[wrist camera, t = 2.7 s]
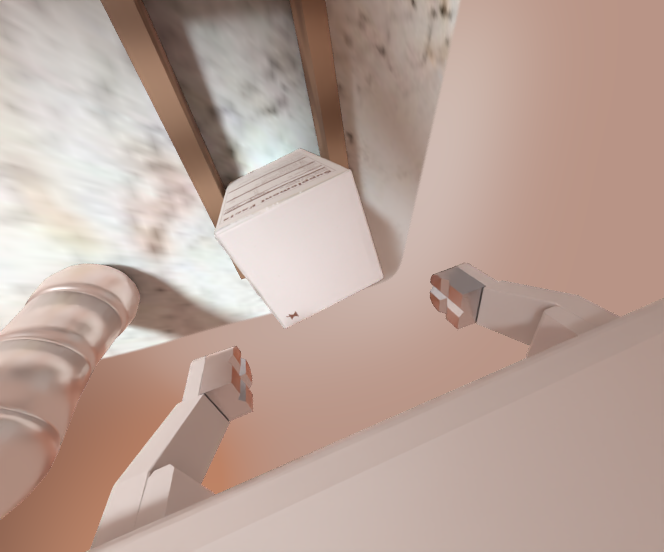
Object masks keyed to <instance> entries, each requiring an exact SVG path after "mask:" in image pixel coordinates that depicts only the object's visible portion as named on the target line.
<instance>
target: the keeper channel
mask: <svg viewBox="0 0 664 552" xmlns="http://www.w3.org/2000/svg"><path fill="white" fill-rule="evenodd" d="M101 2H102V4H103V6H104V8H105V10H106V12H107V14H108V16H109V18H110V20H111V22H112V24H113V26H114V28H115V30H116V32H117V34H118V36H119V38H120V40H121V42H122V44H123V46H124V48H125V50H126V52H127V54H128V56H129V58H130V60H131V62H132V64H133V66H134V68H135V70H136V72H137V74H138V75H139V77H140V79H141V81H142V83H143V85H144V87H145V89H146V91H147V93H148V95H149V97H150V99H151V101H152V103H153V105H154V107H155V109H156V111H157V113H158V115H159V117H160V119H161V121H162V123H163V125H164V127H165V129H166V131H167V133H168V135H169V137H170V139H171V141H172V143H173V145H174V147H175V149H176V151H177V153H178V155H179V157H180V159H181V161H182V163H183V165H184V167H185V169H186V171H187V173H188V175H189V177H190V178H191V180H192V182H193V184H194V186H195V188H196V190H197V192H198V194H199V196H200V198H201V200H202V202H203V204H204V206H205V208H206V210H207V212H208V214H209V216H210V218H211V220H212V222H213V224H214V226H215V228H216V226H217V222H218V218H219V215H220V211H221V207H222V204H223V200H224V196H225V192H226V191H225V189H224V186H223V184H222V182H221V179H220V177H219V175H218V173H217V170H216V168H215V166H214V163H213V161H212V159H211V157H210V154H209V152H208V150H207V147H206V145H205V143H204V141H203V138H202V136H201V134H200V131H199V129H198V127H197V125H196V122H195V120H194V118H193V115H192V113H191V111H190V109H189V106H188V104H187V102H186V99H185V97H184V95H183V93H182V90H181V88H180V86H179V83H178V81H177V79H176V77H175V74H174V72H173V70H172V67H171V65H170V63H169V61H168V58H167V56H166V54H165V51H164V49H163V47H162V45H161V42H160V40H159V38H158V35H157V33H156V31H155V29H154V26H153V24H152V22H151V19H150V17H149V15H148V13H147V10H146V8H145V6H144V3H143V1H142V0H101ZM290 5H291V10H292V15H293V21H294V26H295V31H296V36H297V41H298V46H299V51H300V56H301V61H302V66H303V71H304V76H305V81H306V86H307V91H308V96H309V101H310V106H311V111H312V116H313V121H314V126H315V131H316V136H317V141H318V146H319V151H320V156H321V157H322V158H325V159H327V160H329V161H331V162H333V163H336V164H338V165H341V166H343V167H345V168H347V169H349V166H348V159H347V152H346V145H345V138H344V131H343V123H342V116H341V109H340V102H339V95H338V88H337V81H336V74H335V67H334V60H333V53H332V45H331V38H330V31H329V24H328V17H327V10H326V3H325V0H290ZM231 260H232V259H231ZM232 262H233V260H232ZM233 264H234V266H235V268H236V270H237V272H238V274H239V276H240V278H241V279H244V278H246V277H245V276H244V275H243V274H242V272H241V271H240V270H239V268H238V267H237V266H236V264H235V263H234V262H233Z"/></svg>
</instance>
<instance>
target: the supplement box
mask: <svg viewBox="0 0 664 552" xmlns="http://www.w3.org/2000/svg"><path fill="white" fill-rule="evenodd" d="M214 235H215V238H216V239H217V241H218V242H219V243H220V245H221V246H222V247H223V249H224V250H225V251H226V253H227V254H228V255H229V256H230V258H231V259H232V260H233V262H234V263H235V264H236V266H237V267H238V268H239V270H240V271H241V272H242V274H243V275H244V276H245V277H246V279H247V280H248V281H249V283H250V284H251V286H252V287H253V289H254V290H255V291H256V293H257V294H258V295H259V296H260V297H261V299H262V300H263V301H264V303H265V304H266V305H267V307H268V308H269V309H270V310H271V312H272V313H273V315H274V316H275V317H276V318H277V320H278V321H279V322H280V324H281V325H282V327H283V328H285V329H286V328H288V327H290V326H292V325H294V324H296V323H298V322H301V321H303V320H304V319H307V318H308V317H310V316H312V315H314V314H316V313H318V312H320V311H322V310H324V309H326V308H328V307H330V306H332V305H334V304H336V303H338V302H340V301H342V300H344V299H345V298H347V297H349V296H351V295H353V294H355V293H357V292H359V291H361V290H363V289H365V288H367V287H369V286H371V285H373V284H375V283H376V282H378V281H380V280H381V279H383V277H384V276H383V272H382V269H381V265H380V262H379V258H378V255H377V252H376V248H375V245H374V242H373V239H372V235H371V232H370V229H369V225H368V222H367V219H366V215H365V212H364V209H363V206H362V203H361V199H360V196H359V193H358V190H357V187H356V184H355V180H354V177H353V174H352V171H351V170H350V169H347V168H345V167H343V166H341V165H338V164H336V163H333V162H331V161H329V160H327V159H325V158H322V157H320V156H318V155H315V154H313V153H311V152H308V151H306V150H304V149H301V148H299V149H297V150H296V151H294V152H291V153H289V154H287V155H285V156H283V157H281V158H279V159H277V160H275V161H273V162H271V163H269V164H267V165H265V166H263V167H261V168H258V169H256V170H254V171H252V172H250V173H248V174H246V175H244V176H242V177H240V178H238V179H236V180H234V181H232V182H230V183H228V186H227V189H226V192H225V196H224V200H223V204H222V207H221V211H220V215H219V218H218V222H217V226H216V228H215V231H214Z"/></svg>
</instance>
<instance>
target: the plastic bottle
mask: <svg viewBox="0 0 664 552" xmlns="http://www.w3.org/2000/svg"><path fill="white" fill-rule="evenodd" d="M139 302H140V294H139V290H138V288H137V286H136V285H135V283H134V282H133V281H132V280H131V279H130V278H129V277H128V276H127V275H126V274H124V273H123V272H121V271H119V270H118V269H115V268H113V267H110V266H105V265H100V264H78V265H72V266H70V267H67V268H65V269H63V270H61V271H59V272H57V273H55V274H53V275H51V276H49V277H48V278H46V279H45V280H44V281H43V282H42V283H41V284H40V285H39V286H38V288H37V289H36V290H35V291H34V292H33V294H32V295H31V296H30V298H29V299H28V301H27V302H26V304H25V306H24V308H23V309H22V310H21V311H20V312H19V313H18V314H17V315H16V316H15V317H14V318H13V319H12V320H11V321H10V322H9V324H8V325H7V326H6V327H5V328H4V329H3V330H2V331H1V332H0V520H1V519H2V518H3V517H4V516H6V515H7V514H8V513H9V512H10V511H12V510H13V509H14V508H15V507H16V506H18V505H19V504H20V503H21V502H22V501H23V500H24V499H26V498H27V497H28V496H29V494H30V493H31V492H32V491H33V490H34V489H35V488H36V486H37V485H38V484H39V483H40V482H41V481H42V479H43V478H44V477H45V476H46V475H47V473H48V472H49V470H50V468H51V466H52V464H53V462H54V460H55V458H56V455H57V454H58V452H59V449H60V445H61V443H62V441H63V439H64V436H65V433H66V431H67V428H68V426H69V423H70V421H71V418H72V415H73V413H74V410H75V408H76V405H77V403H78V400H79V398H80V396H81V394H82V392H83V390H84V389H85V387H86V385H87V383H88V381H89V378H90V376H91V374H92V373H93V371H94V369H95V367H96V365H97V363H98V362H99V361H100V360H101V358H102V357H103V356H104V354H105V353H106V351H107V350H108V349H109V347H110V346H111V345H112V343H113V342H114V341H115V339H116V338H117V337H118V336H119V335H120V334H121V333H122V332H123V331H124V330H125V329H126V328H127V327H128V325H129V324H130V323H131V322H132V321H133V319H134V318H135V316H136V314H137V310H138V306H139Z"/></svg>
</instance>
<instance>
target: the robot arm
mask: <svg viewBox="0 0 664 552" xmlns="http://www.w3.org/2000/svg"><path fill="white" fill-rule="evenodd" d="M430 282H431V284H432V285H433V288H432V289H431V291H430V299H431V301H432V304H433V305H434V307H435V308H436V309H437V310H438V311H439V312H442V313H445V314H446V319H447V320H448V321H449V322H450V323H451V324H452V325H453V326H454V327H455V328H457V329H460V328H462V327H465V326H468V325H471V324H473V323H476V322H477V324H479V325H481V326H483V327H486V328H488V329H491V330H493V331H495V332H498V333H500V334H503V335H505V336H508V337H510V338H512V339H515V340H517V341H520V342H522V343H525V344H527V345H530V347H529V349H528V352H527V354H526V359H523V360H521V361H519V362H517V363H514V364H512V365H510V366H508V367H505V368H503V369H501V370H498V371H496V372H494V373H492V374H489V375H487V376H485V377H482V378H480V379H478V380H476V381H473V382H471V383H469V384H467V385H464V386H462V387H460V388H457V389H455V390H453V391H450V392H448V393H446V394H444V395H441V396H439V397H437V398H434V399H432V400H430V401H428V402H425V403H423V404H421V405H418V406H416V407H414V408H412V409H409V410H407V411H405V412H403V413H400V414H398V415H396V416H393V417H391V418H389V419H387V420H384V421H382V422H380V423H378V424H375V425H373V426H371V427H368V428H366V429H364V430H362V431H359V432H357V433H355V434H353V435H350V436H348V437H346V438H344V439H341V440H339V441H337V442H334V443H332V444H330V445H328V446H325V447H323V448H321V449H319V450H316V451H314V452H311V453H309V454H307V455H305V456H302V457H300V458H298V459H296V460H293V461H291V462H289V463H286V464H284V465H282V466H280V467H277V468H275V469H273V470H270V471H268V472H266V473H264V474H261V475H259V476H257V477H255V478H252V479H250V480H248V481H245V482H243V483H241V484H239V485H236V486H234V487H232V488H229V489H227V490H225V491H223V492H221V493H218V494H216V495H215V494H214V493H213V492H212V491H211V490H209V489H207V488H206V487H204V486H203V485H201V483H202V481H203V479H204V476H205V475H206V473H207V470H208V468H209V466H210V464H211V462H212V460H213V458H214V455H215V453H216V451H217V449H218V447H219V445H220V443H221V440H222V438H223V436H224V434H225V432H226V430H227V427H228V426H229V423H230V422H229V421H231V420H234V419H236V418H239V417H241V416H243V415H246V414H248V413H250V412H253V394H252V393H251V391H250V390H249V388H250V387H251V385H252V375H251V370H250V367H249V365H248V363H247V361H246V360H245V359H243V358H241V351H240V350H239V349H238V347H237V346H233V347H230V348H227V349H224V350H221V351H218V352H215V353H212V354H210V355H207V356H204V357H201V358H198V359H195V360H193V362H192V363H191V365H190V370H189V374H188V378H187V382H186V387H185V391H184V396H183V400H182V402H181V403H178V404H177V405H176V406H175V408H174V409H173V410H172V412H171V413H170V414H169V415H168V417H167V418H166V419H165V420H164V422H163V423H162V424H161V426H160V427H159V428H158V429H157V431H156V432H155V433H154V434H153V436H152V437H151V438H150V440H149V441H148V442H147V443H146V445H145V446H144V447H143V449H142V450H141V451H140V452H139V454H138V455H137V456H136V458H135V459H134V460H133V461H132V463H131V464H130V465H129V466H128V468H127V469H126V470H125V472H124V473H123V474H122V475H121V477H120V478H119V479H118V481H117V482H116V483H115V484H114V486H113V489H112V491H111V494H110V496H109V499H108V502H107V505H106V507H105V510H104V513H103V516H102V518H101V521H100V524H99V526H98V529H97V532H96V535H95V537H94V540H93V543H92V546H91V549H90V550H88V551H86V552H664V298H662V299H660V300H658V301H655V302H653V303H651V304H649V305H646V306H644V307H642V308H640V309H638V310H635V311H633V312H630V313H628V314H626V315H624V316H622V317H619V316H618V315H616V314H613V313H612V312H609V311H608V310H606V309H604V308H602V307H600V306H598V305H596V304H594V303H592V302H590V301H588V300H586V299H584V298H582V297H580V296H579V295H573V294H568V293H563V292H558V291H553V290H548V289H542V288H537V287H532V286H527V285H522V284H517V283H512V282H507V281H499V282H498V281H497V280H495V279H493V278H492V277H490V276H488V275H487V274H485V273H483V272H482V271H480V270H479V269H477V268H475V267H473V266H472V265H470V264H469V263H463V264H460V265H457V266H455V267H452V268H449V269H447V270H444V271H441V272H439V273H436V274H433V275H432V277H431V281H430Z"/></svg>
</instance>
